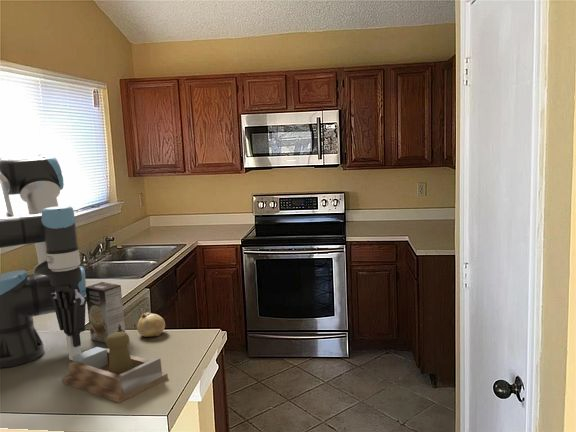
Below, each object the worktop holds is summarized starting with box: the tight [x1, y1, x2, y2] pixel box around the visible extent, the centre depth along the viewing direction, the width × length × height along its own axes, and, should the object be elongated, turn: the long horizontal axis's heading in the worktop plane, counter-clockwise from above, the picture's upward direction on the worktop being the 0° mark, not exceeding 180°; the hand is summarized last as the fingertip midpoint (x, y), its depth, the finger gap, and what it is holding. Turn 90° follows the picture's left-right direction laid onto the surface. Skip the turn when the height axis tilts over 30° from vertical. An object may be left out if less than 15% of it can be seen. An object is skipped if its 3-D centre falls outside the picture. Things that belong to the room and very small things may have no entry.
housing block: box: [72, 346, 108, 369], centre depth 136 cm, size 4×7×4 cm, turn 144°
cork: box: [105, 331, 133, 375], centre depth 129 cm, size 6×6×11 cm
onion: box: [136, 311, 166, 338], centre depth 162 cm, size 8×8×7 cm
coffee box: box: [86, 281, 126, 344], centre depth 160 cm, size 9×6×16 cm
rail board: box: [61, 347, 169, 404], centre depth 131 cm, size 22×14×6 cm, turn 54°
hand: (75, 357), depth 140 cm, fingers closed
